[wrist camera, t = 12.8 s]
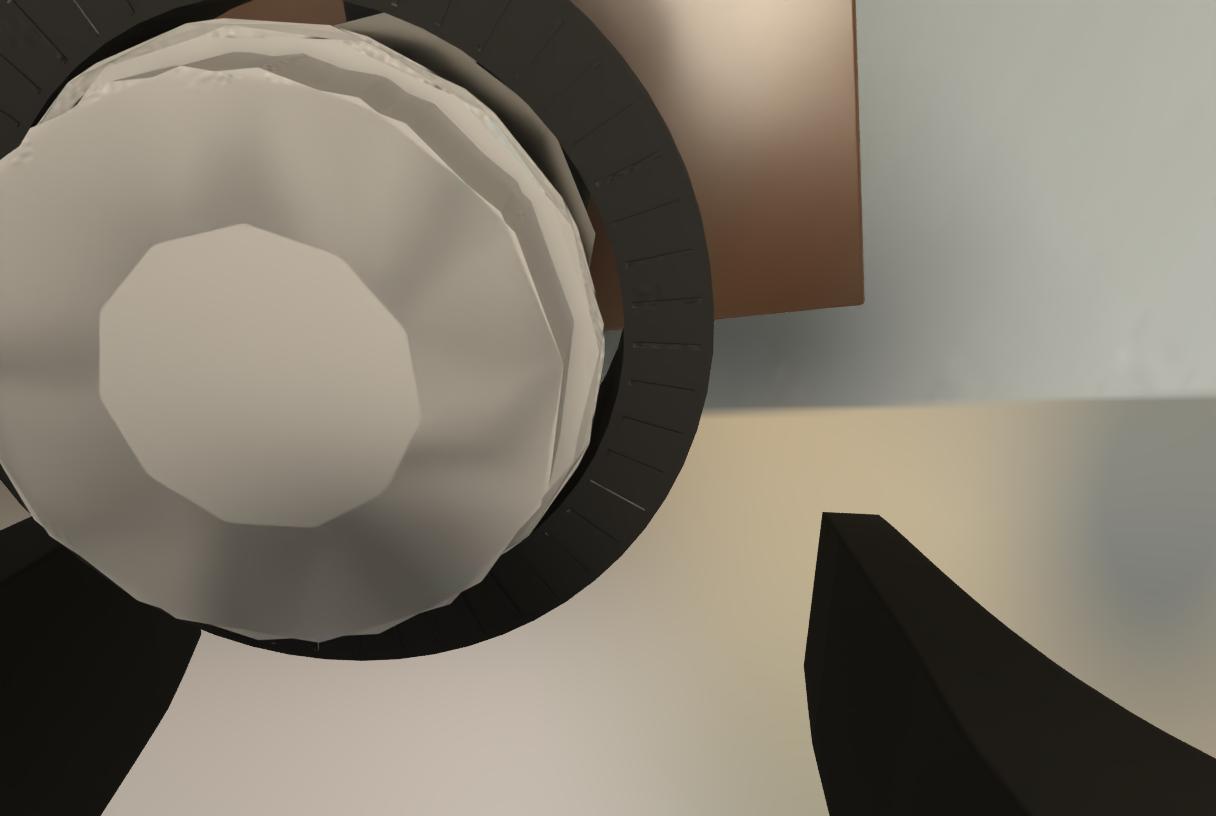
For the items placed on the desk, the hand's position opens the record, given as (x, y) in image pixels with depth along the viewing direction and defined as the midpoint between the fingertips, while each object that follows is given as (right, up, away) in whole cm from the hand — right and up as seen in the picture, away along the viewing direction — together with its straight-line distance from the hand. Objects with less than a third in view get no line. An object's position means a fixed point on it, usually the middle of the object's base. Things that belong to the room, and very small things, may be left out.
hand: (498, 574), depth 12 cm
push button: (0, +7, +3) cm, 7 cm away
